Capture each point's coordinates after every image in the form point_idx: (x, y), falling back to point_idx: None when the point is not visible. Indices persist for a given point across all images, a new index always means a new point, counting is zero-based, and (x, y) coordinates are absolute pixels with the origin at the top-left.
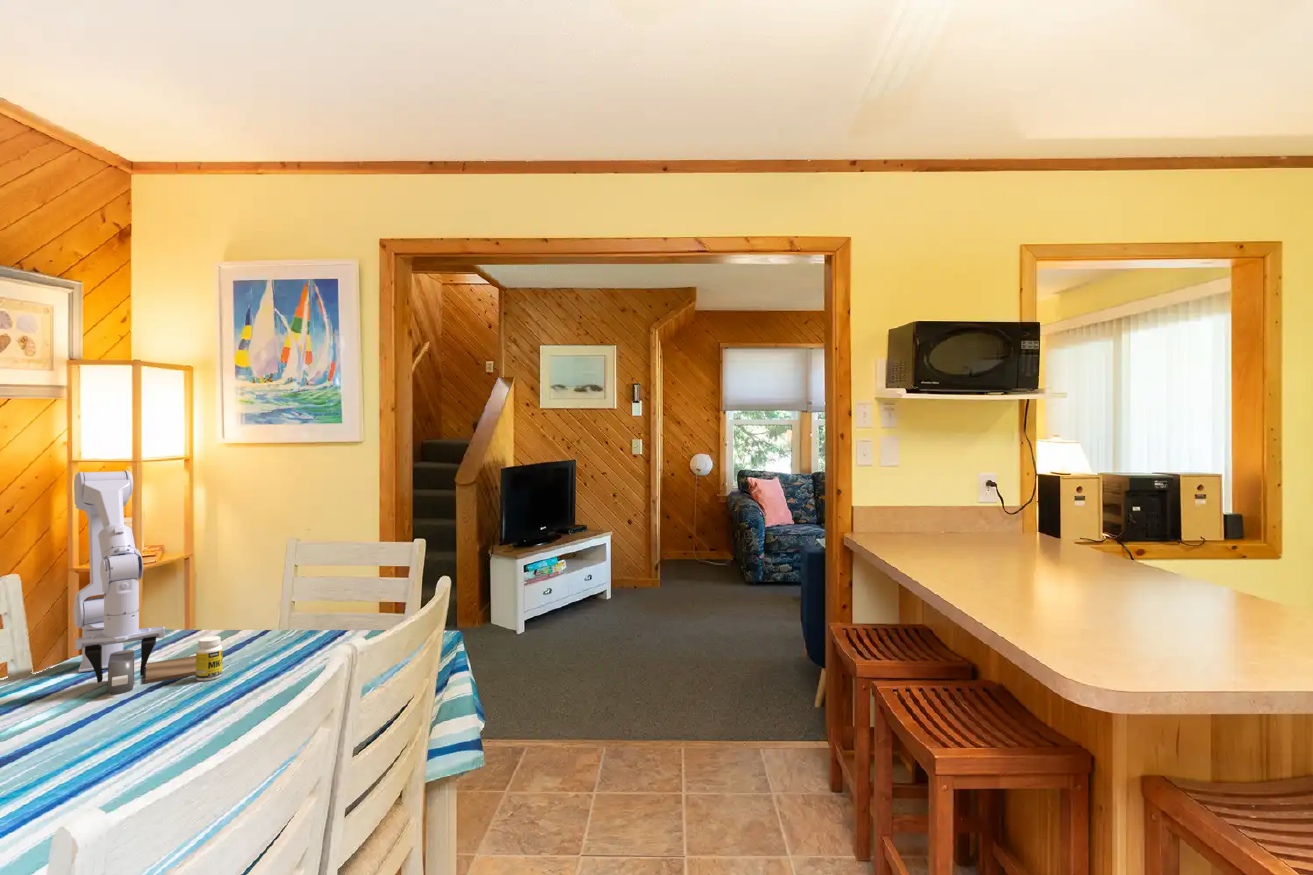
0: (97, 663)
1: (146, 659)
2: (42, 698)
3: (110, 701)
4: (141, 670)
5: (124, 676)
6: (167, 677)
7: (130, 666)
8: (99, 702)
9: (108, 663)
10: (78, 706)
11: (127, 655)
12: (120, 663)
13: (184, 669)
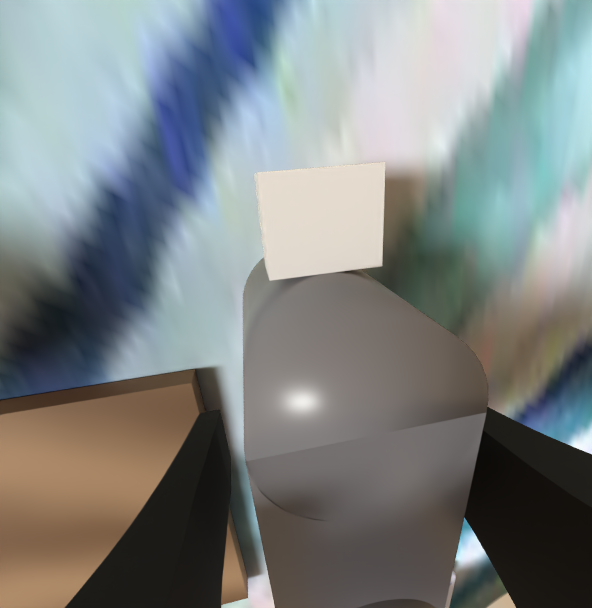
0: (546, 458)
1: (145, 513)
2: (575, 348)
3: (333, 95)
4: (206, 431)
5: (289, 236)
6: (72, 396)
7: (257, 355)
8: (390, 118)
9: (481, 411)
10: (488, 106)
11: (324, 591)
12: (371, 356)
13: (3, 488)
